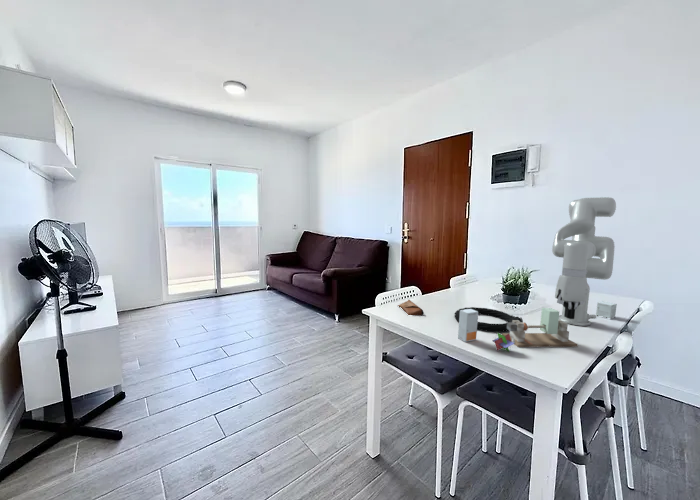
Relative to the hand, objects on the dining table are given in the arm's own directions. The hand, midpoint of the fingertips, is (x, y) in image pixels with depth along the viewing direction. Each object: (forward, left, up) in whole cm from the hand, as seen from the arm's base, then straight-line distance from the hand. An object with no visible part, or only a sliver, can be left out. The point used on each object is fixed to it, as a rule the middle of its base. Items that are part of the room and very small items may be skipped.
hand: (569, 317), depth 119 cm
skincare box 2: (-44, -29, -10) cm, 54 cm away
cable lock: (+22, -22, -10) cm, 33 cm away
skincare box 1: (+41, -2, -10) cm, 42 cm away
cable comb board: (+12, 0, -10) cm, 16 cm away
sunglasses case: (+55, -40, -10) cm, 68 cm away
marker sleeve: (+8, 0, -6) cm, 10 cm away
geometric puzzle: (+32, +8, -10) cm, 34 cm away
